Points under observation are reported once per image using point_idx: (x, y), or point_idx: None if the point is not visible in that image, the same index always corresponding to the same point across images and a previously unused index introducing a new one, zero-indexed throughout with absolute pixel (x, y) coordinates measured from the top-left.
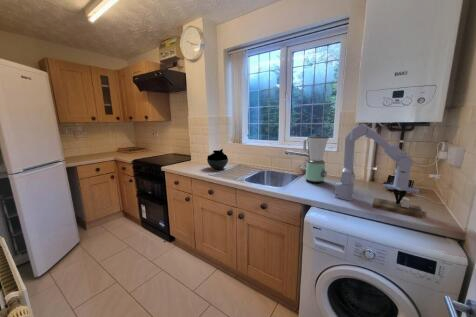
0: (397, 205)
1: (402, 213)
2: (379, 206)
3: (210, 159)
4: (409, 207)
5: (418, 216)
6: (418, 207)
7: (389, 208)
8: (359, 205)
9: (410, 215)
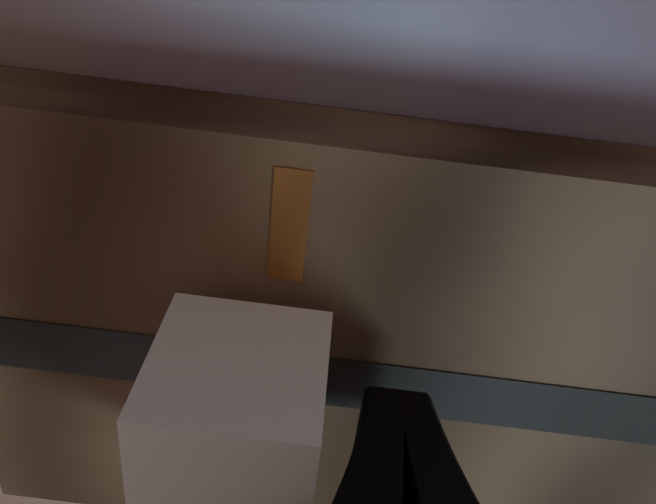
0: (388, 384)
1: (323, 110)
2: None
3: None
4: None
5: (14, 77)
6: (26, 444)
7: (611, 169)
8: None
9: (169, 89)
